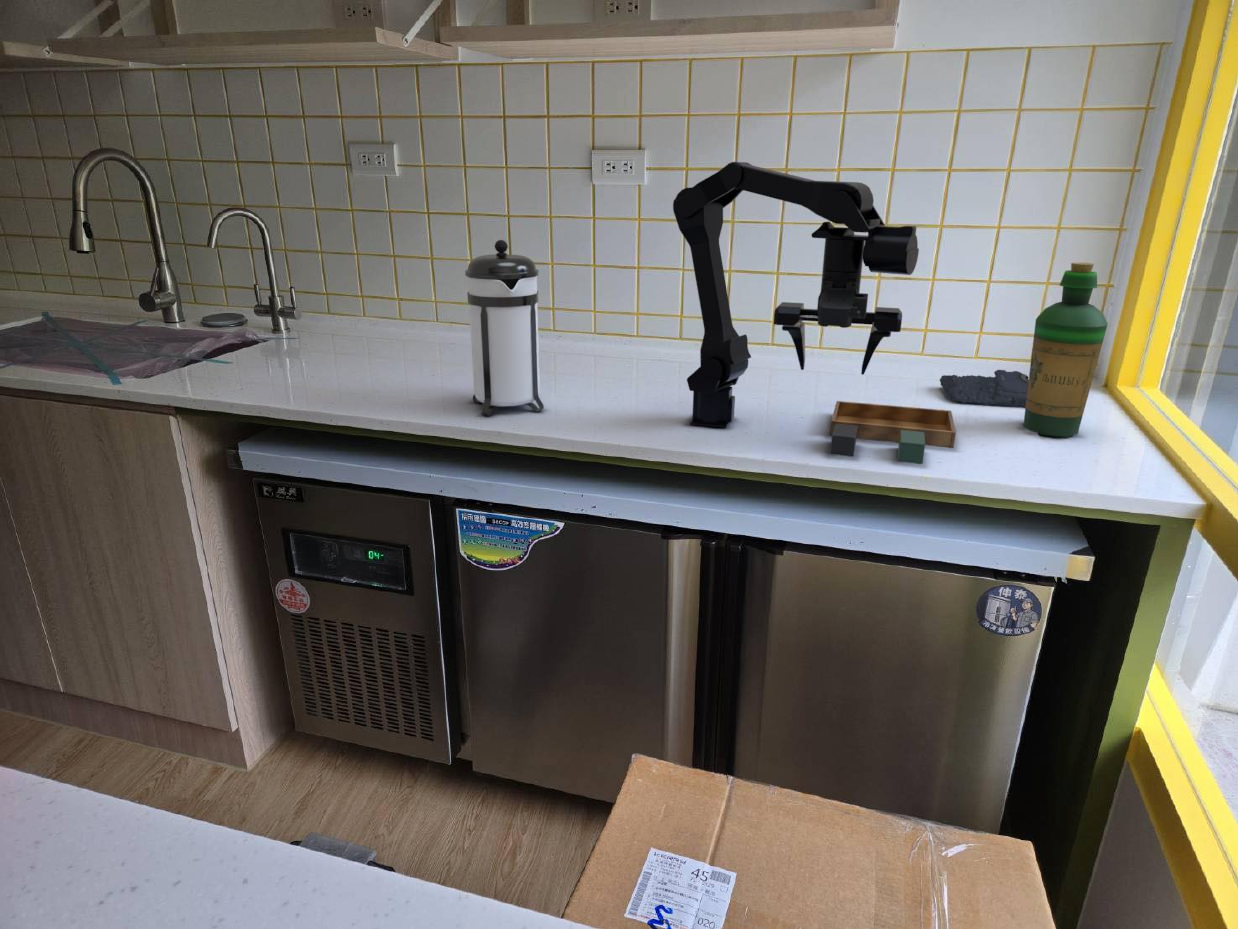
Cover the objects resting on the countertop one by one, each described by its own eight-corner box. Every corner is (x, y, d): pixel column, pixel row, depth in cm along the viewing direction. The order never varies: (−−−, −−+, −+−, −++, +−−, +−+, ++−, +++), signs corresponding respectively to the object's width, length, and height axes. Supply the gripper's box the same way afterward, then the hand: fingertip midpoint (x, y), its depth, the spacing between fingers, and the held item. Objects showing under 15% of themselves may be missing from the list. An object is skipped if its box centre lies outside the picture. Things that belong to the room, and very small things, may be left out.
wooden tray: (829, 438, 136) (831, 420, 135) (835, 416, 147) (836, 400, 146) (953, 450, 130) (955, 432, 129) (948, 427, 142) (951, 410, 141)
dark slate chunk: (933, 384, 170) (936, 361, 169) (1045, 389, 167) (1050, 366, 165) (947, 403, 156) (951, 379, 155) (1071, 410, 153) (1076, 385, 151)
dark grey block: (829, 456, 127) (832, 435, 125) (833, 444, 132) (835, 423, 131) (853, 459, 126) (855, 437, 124) (855, 446, 131) (857, 425, 130)
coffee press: (566, 401, 156) (564, 238, 145) (515, 422, 143) (508, 244, 132) (494, 389, 164) (487, 234, 154) (440, 408, 151) (428, 240, 141)
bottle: (1005, 430, 140) (1035, 263, 131) (1029, 418, 147) (1059, 258, 138) (1072, 444, 133) (1108, 268, 124) (1094, 431, 140) (1130, 263, 131)
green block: (897, 464, 124) (900, 442, 123) (897, 450, 130) (900, 429, 128) (922, 466, 123) (925, 444, 122) (921, 453, 129) (924, 432, 127)
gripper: (772, 273, 119) (765, 378, 124) (907, 279, 113) (894, 388, 119) (782, 265, 129) (775, 363, 134) (907, 270, 123) (894, 372, 129)
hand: (832, 371), depth 129 cm, fingers open, 9 cm apart
